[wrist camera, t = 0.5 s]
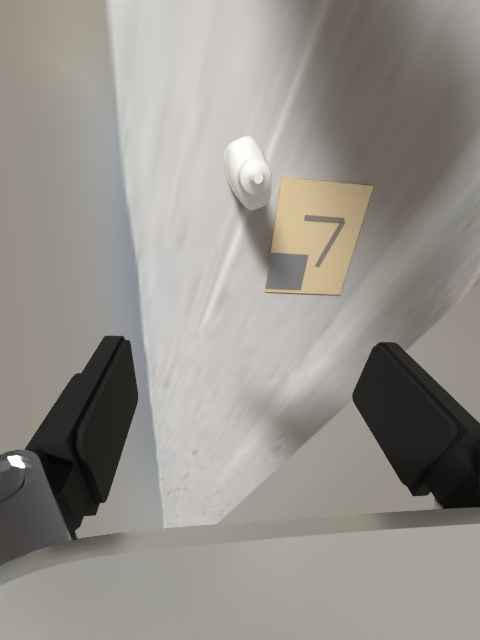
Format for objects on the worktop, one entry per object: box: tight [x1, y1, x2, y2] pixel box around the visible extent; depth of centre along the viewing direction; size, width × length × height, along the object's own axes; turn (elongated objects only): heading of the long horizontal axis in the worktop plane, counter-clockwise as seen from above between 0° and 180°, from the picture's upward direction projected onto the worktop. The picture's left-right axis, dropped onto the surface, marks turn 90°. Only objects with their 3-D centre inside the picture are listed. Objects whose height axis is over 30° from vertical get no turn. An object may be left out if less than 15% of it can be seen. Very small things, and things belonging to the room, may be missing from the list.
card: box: [265, 177, 374, 295], centre depth 33 cm, size 14×11×1 cm
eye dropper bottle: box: [224, 136, 271, 210], centre depth 23 cm, size 4×6×12 cm
